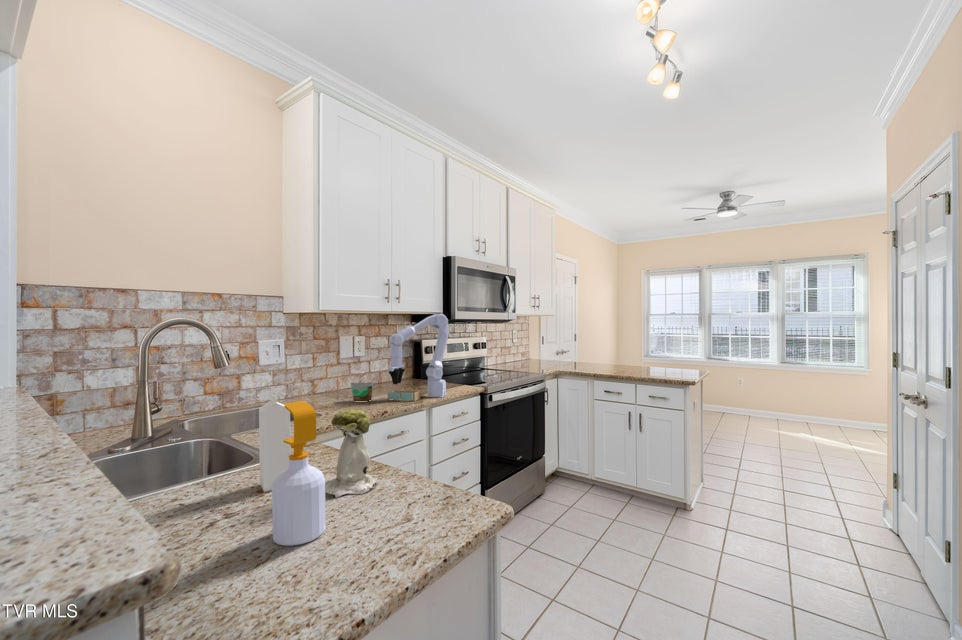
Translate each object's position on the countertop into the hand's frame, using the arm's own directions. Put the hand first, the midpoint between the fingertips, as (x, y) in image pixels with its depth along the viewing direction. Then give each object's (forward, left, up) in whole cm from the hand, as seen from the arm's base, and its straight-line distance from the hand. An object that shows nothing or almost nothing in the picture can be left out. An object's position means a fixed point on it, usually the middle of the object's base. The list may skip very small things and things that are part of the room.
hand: (397, 383), depth 211 cm
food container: (+17, +7, -9) cm, 20 cm away
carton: (-3, -2, -8) cm, 9 cm away
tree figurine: (-34, +107, -9) cm, 113 cm away
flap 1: (0, +3, -7) cm, 8 cm away
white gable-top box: (-15, +109, -9) cm, 110 cm away
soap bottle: (-36, +129, -9) cm, 134 cm away
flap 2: (-6, +3, -8) cm, 10 cm away
